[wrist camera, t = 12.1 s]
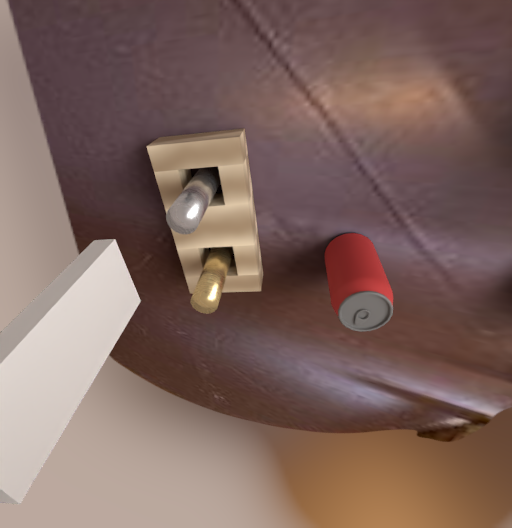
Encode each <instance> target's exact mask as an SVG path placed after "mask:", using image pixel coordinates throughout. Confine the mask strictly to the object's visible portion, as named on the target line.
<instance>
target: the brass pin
mask: <svg viewBox="0 0 512 528" xmlns="http://www.w3.org/2000/svg"><path fill="white" fill-rule="evenodd" d="M233 252H234V251H233V246H230V247H212V248H211V250H210V253H209V255H208V258H207V260H206V263H205V265H204V268H203V270H202V273H201V275H200V278H199V280H198V283H197V285H196V288H195V290H194V293H193V295H192V298H191V305H192V306H193V308H194V309H195V310H197V311H199V312H201V313H212V312H214V311H215V310H216V309H217V307H218V304H219V301H220V297H221V294H222V290H223V287H224V283H225V280H226V276H227V273H228V269H229V266H230V262H231V259H232V255H233Z"/></svg>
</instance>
